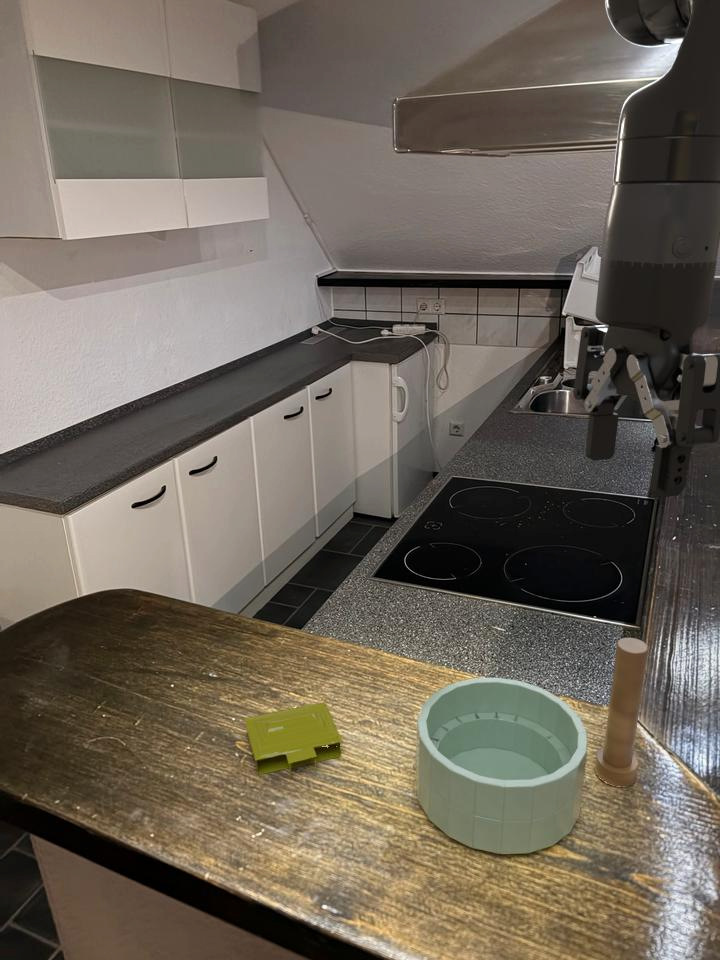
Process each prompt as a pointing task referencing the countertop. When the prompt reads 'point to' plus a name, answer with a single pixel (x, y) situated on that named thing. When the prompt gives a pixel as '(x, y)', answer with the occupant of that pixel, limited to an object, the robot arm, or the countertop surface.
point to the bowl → (500, 764)
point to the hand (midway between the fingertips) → (630, 475)
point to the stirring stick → (623, 715)
